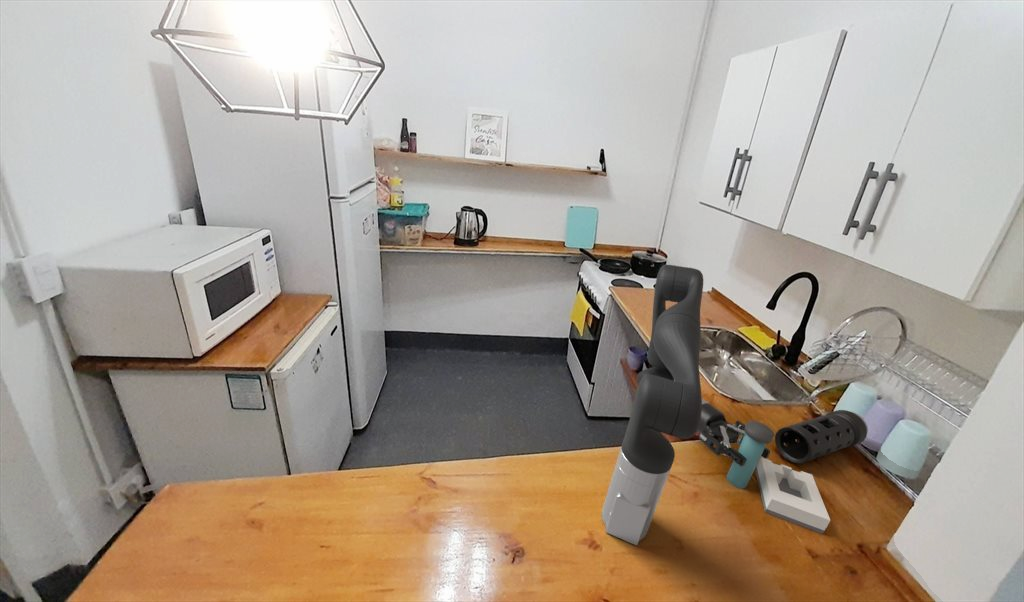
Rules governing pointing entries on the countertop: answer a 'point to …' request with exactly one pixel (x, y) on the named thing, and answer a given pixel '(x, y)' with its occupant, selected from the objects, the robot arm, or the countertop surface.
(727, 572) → the countertop surface
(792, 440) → the muzzle brake
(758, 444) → the peg
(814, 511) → the keyhole plate
